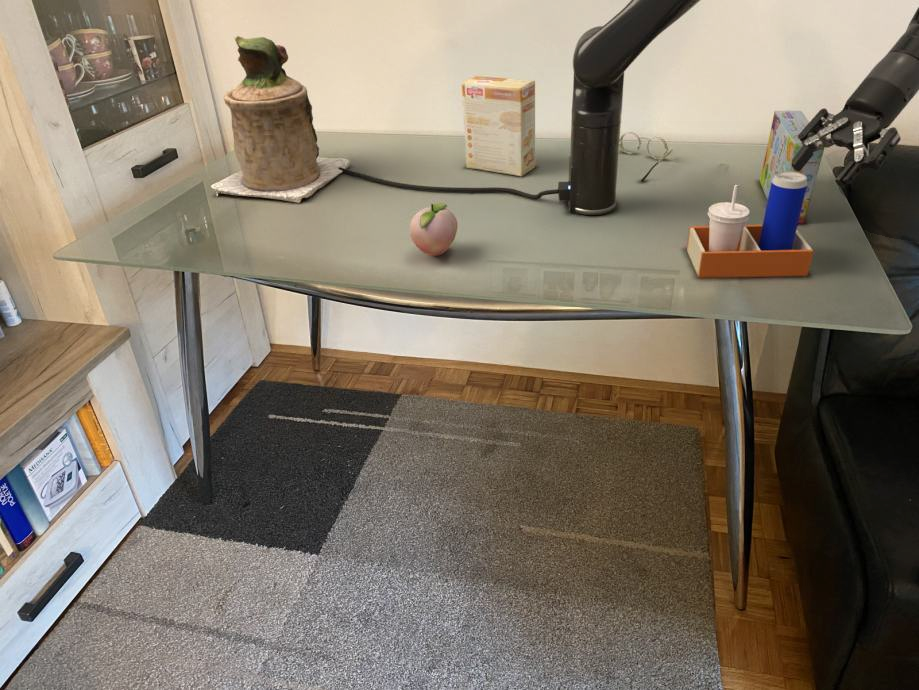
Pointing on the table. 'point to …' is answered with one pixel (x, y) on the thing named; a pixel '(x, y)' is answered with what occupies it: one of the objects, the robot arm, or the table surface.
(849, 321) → the table surface
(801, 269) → the carrier
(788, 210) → the beverage can
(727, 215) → the smoothie
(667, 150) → the round eyeglasses
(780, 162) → the snack box
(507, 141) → the coffeecake box
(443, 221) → the decorative fruit
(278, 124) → the cookie jar
